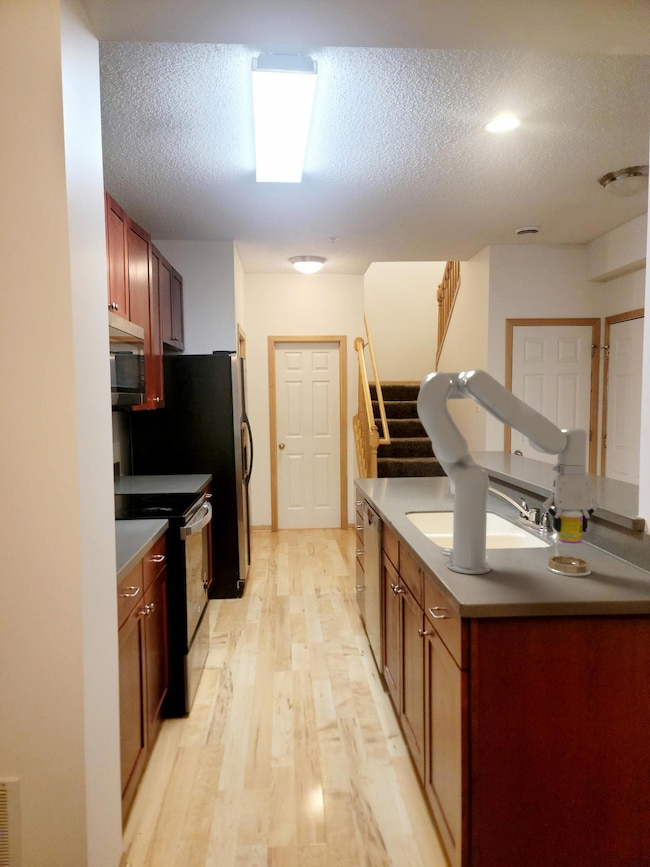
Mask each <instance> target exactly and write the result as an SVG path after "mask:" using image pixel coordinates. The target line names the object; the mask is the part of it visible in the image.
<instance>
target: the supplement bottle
mask: <svg viewBox="0 0 650 867" xmlns="http://www.w3.org/2000/svg"><path fill="white" fill-rule="evenodd" d="M559 518H560V519H561V531H560V532H557V543H558V544H559V545H561V546H564V547H571V548H572V547H573V548H575V547H576V548H577V547H580V546H582V544H583V531H582V525H583V513H582V512H581V511H580V510H562V512H561V514H560V516H559Z"/></svg>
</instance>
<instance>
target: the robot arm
mask: <svg viewBox="0 0 650 867" xmlns="http://www.w3.org/2000/svg"><path fill="white" fill-rule="evenodd" d="M465 399H471V400H473V402H475V403H476V404H478V405H479V407H481V408H482V409H484V410H485V411H486V412H487V413H488V414H490V415H491V416H492V417H494V419H495V420H497V421H498V422H500V423H501V424H503V425H505V426H508V427H509V428H512V429H514V430H515V431H517V432H519V434H522V435H523V436H524V437H525V438H527V440H528V444H529V446H530V448H532V449H533V450H534V451H536V452H538V453H542V454H546V455H550V456H555V455H557V464H556V466H553V467H552V471H553V472H556V474H555V475H554V478H553V482H552V483H553V484H552V488H551V489H552V490H551V496H550V497H549V498H547V499H546V500H545V501H544V502H543V503H542V506H543V508H544V509H545V510H546V511H547V513H549V514H550V515H551V516H552V528H553V529H554V531H556V533H558V532H560V531H561V519H560V518H559V516H560V514H561V512H562V510H580V511H581V512H582V513H583V525H582V533H587V529H588V521H589V520H588V519H590V516H592V515H593V513H595V511H596V510H597V509H598V508H599V507H600V504H599V503H597V501H595V500H594V499H593V498H592V488H591V481H590V477H589V475H588V474H586V472H587V471H586V470H587V438H588V436H587V434H588V433H587V431H586V430H585V429H583V428H581V427H579V428H578V427H566V428H565V427H564V428H559V427H558V426H557V425H555V423H553V422H552V421H551V420H550V419H548V418H547V417H545V416H544V415H543V414H542V413H540V412H539V411H537V410H536V409H534V408H533V407H531V406H530V405H528V404H527V403H526V402H524V400H523V401H522V400H521V398H519V397H518V396H516V395H515V394H514V393H512V392H511V391H510V390H509V389H507V388H506V387H505V386H504V385H502V384H501V383H500V382H499V381H498V380H496V379H495V377H493V376H492V375H490V374H489V373H488V372H487V371H485V370H482V369H479V368H477V369H475V368H474V369H470V370H466V371H456V372H443V371H433V372H431V373H428V374H427V375H425V376H424V377H423V378H422V380H421V381H420V384H419V392H418V396H417V402H416V409H417V411H416V412H417V415H418V418H419V420H420V422H421V424H422V426H423V428H424V430H425V433H426V434H427V436H428V438H429V439H430V440H431V448H432V451H433V453H434V456H435V457H436V459H437V461H438V463H439V464H440V466H441V468H442V469H443V471H444V473H445V474H446V475H447V477H448V479H449V481H450V482H451V483H452V485H453V486H454V497H453V509H452V510H453V515H452V516H453V518H452V519H453V523H452V524H453V525H452V526H453V528H452V530H453V531H452V532H453V533H452V549H449V548H444V550H443V552H442V556H443V557H446V558H447V557H448V558H449V560H448V561H447V563H446V566H447V567H448V569H449V570H451V571H454V572H457V573H460V574H467V575H481V574H486V573H489V572H491V570H492V565H491V563H489V562H487V560H486V556H487V519H488V518H487V517H488V516H487V515H488V514H487V513H488V512H487V510H488V508H487V507H488V499H489V498H488V496H489V490H490V478H489V474H488V472H487V471H486V469H485V468H484V467H483V466H482V465H480V464H479V463H477V462H476V461H475V460H474V458H473V457H472V455H471V453H470V451H469V445H468V442H467V440H466V437H465V436H464V435H463V434H462V433H461V430H460V429H459V427H458V425H457V424H456V422H455V420H454V419H453V417H452V415H451V413H450V412H449V409H448V401H451V400H453V401H455V400H465ZM552 507H554V508H552Z"/></svg>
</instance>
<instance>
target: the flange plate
mask: <svg viewBox="0 0 650 867" xmlns="http://www.w3.org/2000/svg"><path fill="white" fill-rule="evenodd" d="M546 567H547V568H546V569H547V571H549V572H550V573H552V574H556V575H559V576H563V577H573V578H577V577H579V578H582V577H588V576H590V575H591V574H592V569H591V563H590V562H589V560H586V559H585V558H581V557H577V556H573V555H572V556H571V555H551V556H550V557H547V564H546Z"/></svg>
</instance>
